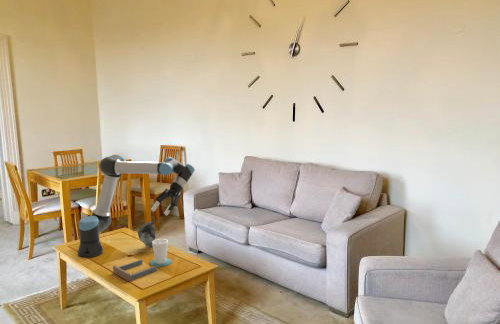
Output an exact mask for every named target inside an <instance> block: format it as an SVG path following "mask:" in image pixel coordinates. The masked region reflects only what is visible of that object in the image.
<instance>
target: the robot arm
mask: <svg viewBox="0 0 500 324" xmlns="http://www.w3.org/2000/svg"><path fill="white" fill-rule="evenodd" d="M98 167H99V170H100V171H101V173H102V174H103V176H104V178H103V181H102V184H101V189H100V193H99V196H98V199H97V200H98V201H97V203H96V208H94V209H93V210H92V213H91V215H88V216H84V217H82V218H81V219H80V220H79V221H78V231H79V232H78V234H79V245H78V249H77V257H78V258H84V259H86V258H87V259H88V258H95V257H98V256H100V255H103V254H104V253H103V252H104V248H103V246H102V243H101V241H100V233H102V232H103V231H105V230H107V229H108V227H110V225H111V222H112V216H111V215H112V214H111V212H110V209H111V206H112V203H113V198H114V196H115V195H114V194H115V193H116V191H115V190H116V188H117V184H118V180H119V179H120V178H122V174H138V175H139V174H142V175H143V174H148V175H149V174H150V175H163V176H169V175H170V174H172V173H174V174H176V176H175V178H174V180H173V182H172V183H171V184H170V185H169V189H168V188H165V189H164V190H163V191H162V192H161V193H160V194H158V195H157V196H156V197H155V199H154V200H155V202H154V204H153V205H152V207H151V208H150V210H151V211H152V212H156V210H157V208H158V207H159V205H161V202H162V201H165V200H166V199H169V198H170V204H169V205H168V206H167V208H166V209H165V211H164V212H163V214H164V216H166V217H167V216H168V215H169V214H170V212H171V211H172V210H173V209H174V208H175V207H178V205H179V201H180V198H181V196H182V193H181V192H182V190H183V188H185V186H186V185H187V183H188V181H189V180H190V179H191V177H192V176H193V174H194V172H195V167H194V166H193V165H192V164H190V163H185V164H183V163H182V162H179V161H178V160H177V159H175V158H174V157H171V156H167V157H166V158H165V159H164V161H131V160H130V161H129V160H126V158H125V157H124V156H122V155H120V154H112V155H109V156H106V157H104V158H102V159H101V160H100V162H99V166H98Z"/></svg>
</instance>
